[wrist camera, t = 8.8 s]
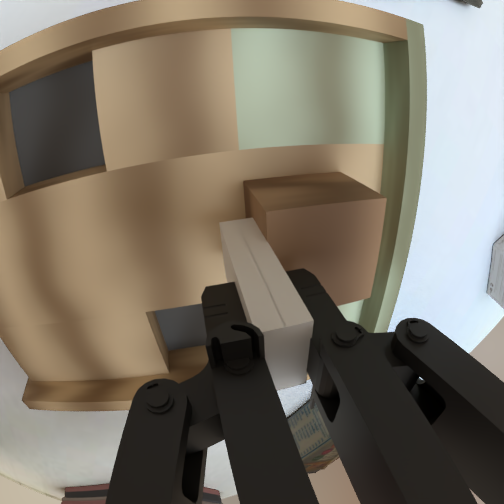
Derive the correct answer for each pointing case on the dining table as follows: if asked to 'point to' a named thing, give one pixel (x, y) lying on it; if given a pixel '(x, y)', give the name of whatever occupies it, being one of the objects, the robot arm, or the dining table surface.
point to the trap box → (183, 171)
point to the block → (321, 228)
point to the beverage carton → (312, 439)
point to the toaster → (94, 497)
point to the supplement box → (497, 273)
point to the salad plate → (474, 2)
